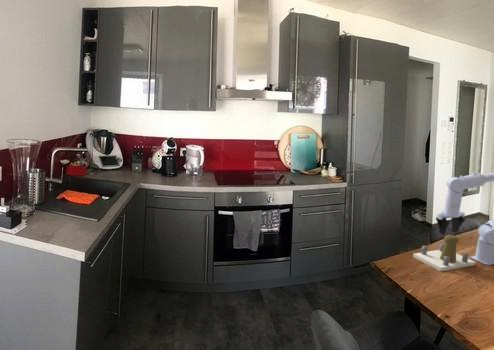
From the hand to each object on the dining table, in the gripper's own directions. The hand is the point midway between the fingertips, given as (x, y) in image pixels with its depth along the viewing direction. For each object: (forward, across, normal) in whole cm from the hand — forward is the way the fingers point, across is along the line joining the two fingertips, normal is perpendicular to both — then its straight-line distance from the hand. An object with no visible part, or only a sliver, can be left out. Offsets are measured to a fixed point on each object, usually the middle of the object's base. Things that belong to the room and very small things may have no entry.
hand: (448, 232), depth 150 cm
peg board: (+10, +7, +5) cm, 13 cm away
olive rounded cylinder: (+9, +7, +7) cm, 14 cm away
